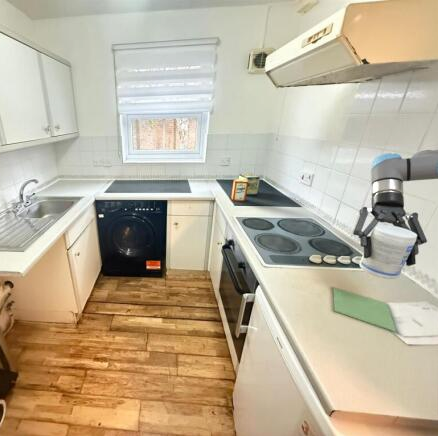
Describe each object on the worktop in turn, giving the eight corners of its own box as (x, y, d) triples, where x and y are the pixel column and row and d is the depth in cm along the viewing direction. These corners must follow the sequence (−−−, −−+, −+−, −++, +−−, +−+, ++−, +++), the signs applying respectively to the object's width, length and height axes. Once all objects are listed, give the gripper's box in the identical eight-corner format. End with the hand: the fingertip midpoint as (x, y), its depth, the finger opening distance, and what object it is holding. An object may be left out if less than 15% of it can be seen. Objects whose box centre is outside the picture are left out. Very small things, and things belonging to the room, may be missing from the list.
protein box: (245, 196, 197) (248, 177, 191) (236, 190, 212) (239, 173, 205) (257, 195, 198) (260, 177, 192) (248, 190, 212) (250, 173, 206)
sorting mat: (386, 304, 82) (387, 303, 82) (395, 332, 72) (396, 331, 72) (333, 288, 90) (333, 287, 90) (334, 311, 80) (335, 310, 79)
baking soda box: (243, 198, 190) (246, 179, 184) (245, 201, 184) (248, 181, 178) (231, 198, 192) (233, 178, 185) (232, 200, 186) (235, 180, 179)
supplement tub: (402, 284, 71) (425, 240, 65) (362, 274, 75) (380, 233, 69) (391, 267, 79) (410, 227, 73) (355, 260, 83) (370, 221, 77)
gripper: (424, 206, 78) (429, 272, 71) (341, 197, 86) (339, 255, 79) (441, 195, 71) (449, 266, 64) (350, 187, 80) (349, 249, 73)
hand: (388, 260), depth 72 cm, fingers closed on supplement tub, 9 cm apart
